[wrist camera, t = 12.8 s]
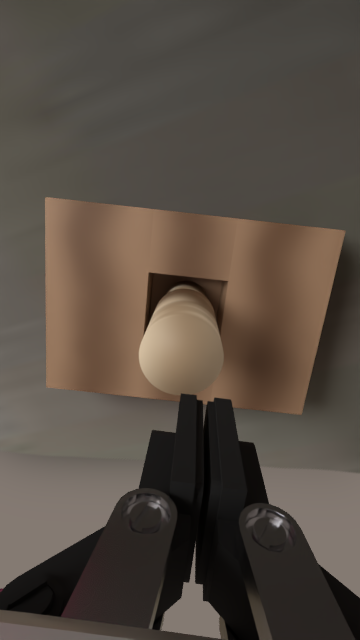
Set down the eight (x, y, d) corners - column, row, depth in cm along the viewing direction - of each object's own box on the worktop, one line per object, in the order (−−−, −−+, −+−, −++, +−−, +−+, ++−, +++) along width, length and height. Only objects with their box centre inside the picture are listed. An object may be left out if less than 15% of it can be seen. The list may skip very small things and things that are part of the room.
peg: (214, 279, 28) (229, 322, 16) (207, 328, 29) (217, 400, 17) (163, 273, 28) (142, 311, 16) (158, 322, 29) (135, 390, 17)
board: (318, 228, 27) (345, 230, 23) (284, 384, 31) (301, 414, 27) (70, 200, 27) (45, 197, 22) (68, 361, 31) (46, 387, 26)
